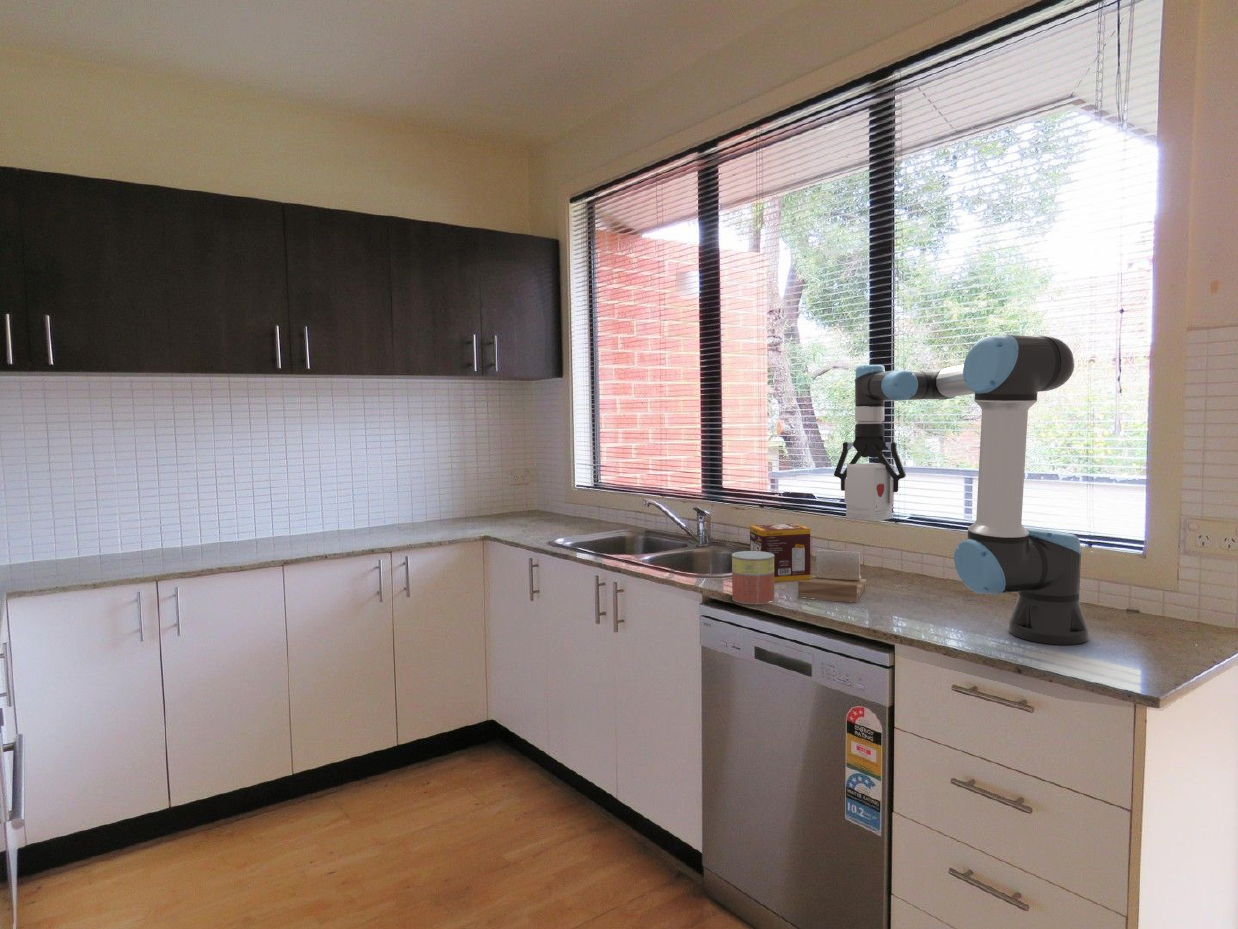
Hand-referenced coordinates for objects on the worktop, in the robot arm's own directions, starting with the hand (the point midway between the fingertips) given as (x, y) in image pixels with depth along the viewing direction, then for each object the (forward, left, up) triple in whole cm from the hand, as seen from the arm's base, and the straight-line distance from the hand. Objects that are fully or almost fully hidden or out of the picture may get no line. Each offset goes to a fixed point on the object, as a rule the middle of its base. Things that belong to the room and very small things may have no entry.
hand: (869, 503), depth 206 cm
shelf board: (-2, +9, -24) cm, 26 cm away
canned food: (-18, +28, -25) cm, 41 cm away
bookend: (+8, +9, -23) cm, 26 cm away
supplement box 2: (0, 0, -4) cm, 4 cm away
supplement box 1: (+10, +27, -25) cm, 38 cm away
